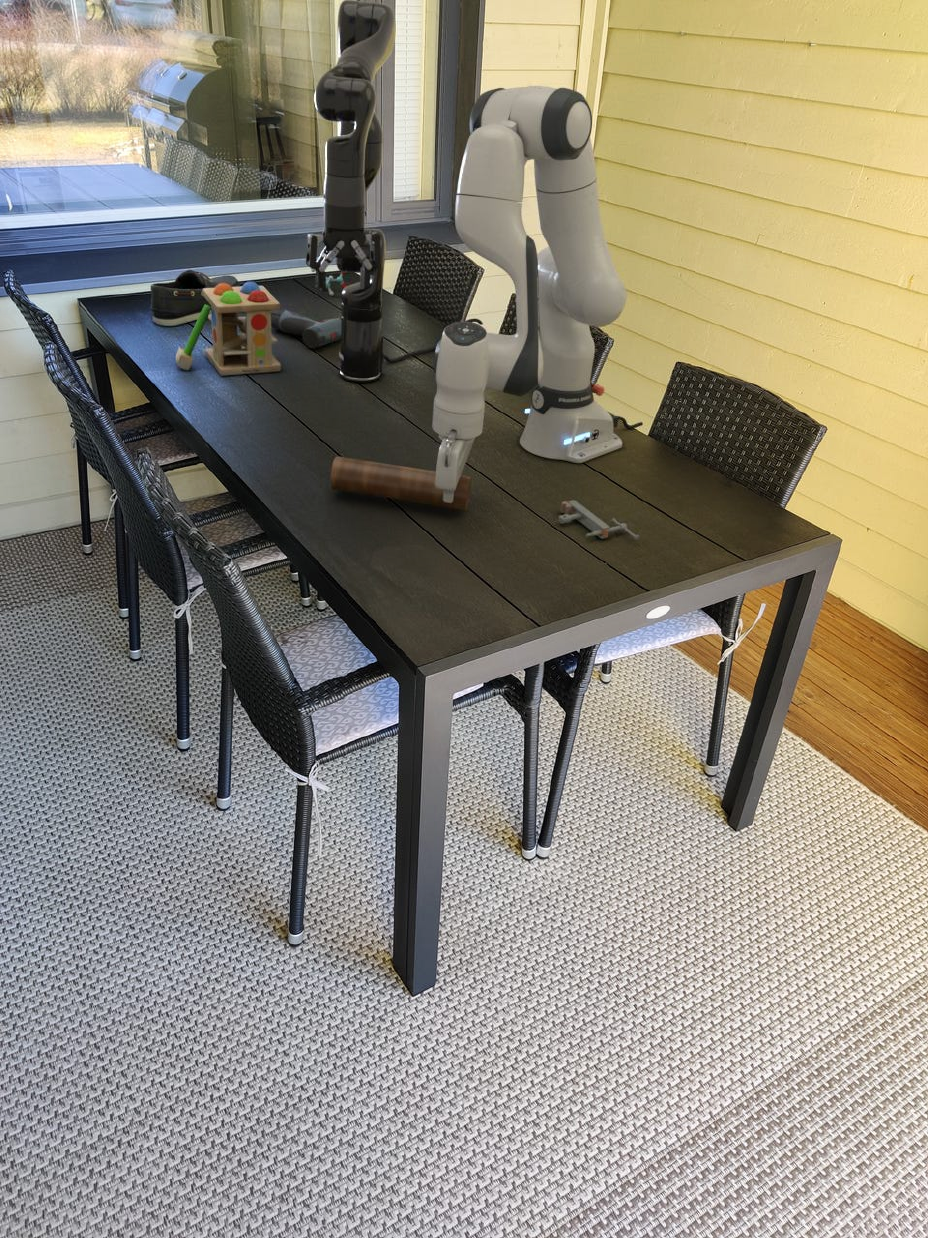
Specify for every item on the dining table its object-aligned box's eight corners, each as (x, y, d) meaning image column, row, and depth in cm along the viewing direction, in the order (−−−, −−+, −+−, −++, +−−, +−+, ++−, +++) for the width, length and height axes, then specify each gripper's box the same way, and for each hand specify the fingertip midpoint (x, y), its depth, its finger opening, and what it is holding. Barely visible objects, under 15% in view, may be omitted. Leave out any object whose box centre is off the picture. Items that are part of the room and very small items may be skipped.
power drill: (305, 316, 264) (364, 334, 256) (257, 332, 251) (318, 351, 243) (305, 296, 261) (365, 314, 253) (257, 311, 248) (318, 330, 240)
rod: (330, 494, 179) (330, 464, 175) (338, 480, 184) (339, 450, 180) (464, 516, 177) (467, 485, 173) (469, 500, 182) (472, 471, 178)
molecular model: (344, 287, 277) (332, 252, 275) (316, 300, 280) (304, 265, 279) (361, 290, 287) (349, 256, 286) (333, 302, 291) (322, 269, 289)
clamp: (548, 504, 180) (591, 495, 185) (546, 514, 181) (590, 505, 186) (596, 542, 170) (641, 532, 174) (594, 553, 171) (639, 543, 175)
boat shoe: (260, 304, 271) (258, 265, 265) (170, 328, 247) (166, 286, 242) (226, 295, 276) (223, 257, 271) (135, 318, 253) (129, 277, 247)
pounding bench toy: (183, 379, 220) (176, 299, 210) (169, 357, 231) (162, 280, 221) (282, 371, 230) (280, 294, 220) (264, 350, 240) (262, 276, 230)
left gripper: (314, 205, 175) (314, 297, 184) (388, 204, 180) (384, 293, 190) (300, 196, 180) (301, 285, 189) (372, 194, 186) (370, 281, 195)
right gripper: (466, 446, 161) (459, 520, 169) (484, 401, 178) (477, 470, 186) (428, 441, 162) (423, 515, 169) (450, 396, 178) (444, 465, 186)
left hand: (343, 289), depth 189 cm, fingers open, 8 cm apart
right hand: (451, 491), depth 178 cm, fingers closed on rod, 6 cm apart
